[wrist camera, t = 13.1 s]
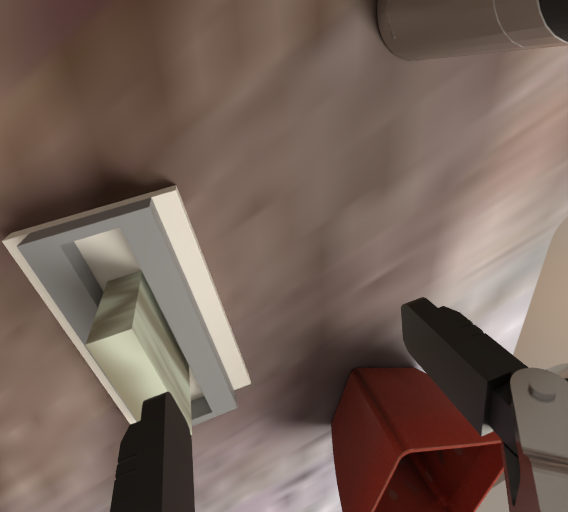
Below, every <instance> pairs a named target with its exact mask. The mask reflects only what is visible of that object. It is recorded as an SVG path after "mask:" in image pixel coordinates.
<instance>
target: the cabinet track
mask: <svg viewBox="0 0 568 512" xmlns="http://www.w3.org/2000/svg"><path fill="white" fill-rule="evenodd" d="M2 242H3V244H4V245H5V246H6V248H7V249H8V251H9V252H10V254H11V255H12V256H13V258H14V259H15V261H16V262H17V264H18V265H19V266H20V268H21V269H22V271H23V272H24V274H25V275H26V276H27V278H28V279H29V281H30V282H31V283H32V285H33V286H34V288H35V289H36V291H37V292H38V293H39V295H40V296H41V298H42V299H43V301H44V302H45V303H46V305H47V306H48V308H49V309H50V311H51V312H52V313H53V315H54V316H55V318H56V319H57V320H58V322H59V323H60V325H61V326H62V328H63V329H64V330H65V332H66V333H67V335H68V336H69V338H70V339H71V340H72V342H73V343H74V345H75V346H76V347H77V349H78V350H79V352H80V353H81V355H82V356H83V357H84V359H85V360H86V362H87V363H88V365H89V366H90V367H91V369H92V370H93V372H94V373H95V375H96V376H97V377H98V379H99V380H100V382H101V383H102V384H103V386H104V387H105V389H106V390H107V392H108V393H109V394H110V396H111V397H112V399H113V400H114V402H115V403H116V404H117V406H118V407H119V409H120V410H121V412H122V413H123V414H124V416H125V417H126V419H127V420H128V421H129V423H130V424H133V423H136V422H137V420H136V419H135V417H134V416H133V414H132V413H131V411H130V410H129V408H128V407H127V405H126V404H125V402H124V401H123V399H122V398H121V397H120V395H119V394H118V392H117V391H116V389H115V388H114V386H113V385H112V383H111V382H110V380H109V379H108V377H107V376H106V375H105V373H104V372H103V370H102V369H101V367H100V366H99V364H98V363H97V361H96V360H95V358H94V357H93V355H92V354H91V352H90V351H89V350H88V348H87V347H86V345H85V344H86V341H87V339H88V336H89V333H90V330H91V327H92V324H93V321H94V318H95V316H96V313H97V310H98V307H99V304H100V301H101V298H102V295H103V293H104V290H105V287H106V284H107V281H110V280H113V279H116V278H120V277H123V276H126V275H129V274H132V273H135V272H138V271H141V270H142V272H143V274H144V276H145V278H146V280H147V282H148V284H149V286H150V288H151V290H152V292H153V294H154V296H155V298H156V300H157V302H158V304H159V306H160V308H161V310H162V312H163V314H164V316H165V318H166V320H167V322H168V324H169V326H170V328H171V330H172V332H173V334H174V336H175V338H176V340H177V342H178V344H179V346H180V348H181V350H182V352H183V354H184V356H185V358H186V360H187V362H188V364H189V375H190V397H191V419H192V426H193V425H196V424H198V423H201V422H204V421H206V420H209V419H211V418H214V417H216V416H219V415H221V414H224V413H227V412H229V411H232V410H234V409H237V408H238V407H237V402H236V397H235V391H234V390H236V389H239V388H241V387H244V386H246V385H249V384H251V381H250V377H249V373H248V370H247V368H246V365H245V363H244V360H243V357H242V355H241V352H240V350H239V347H238V344H237V342H236V339H235V337H234V334H233V331H232V329H231V326H230V324H229V321H228V318H227V316H226V313H225V311H224V308H223V305H222V303H221V300H220V298H219V295H218V292H217V290H216V287H215V285H214V282H213V279H212V277H211V274H210V272H209V269H208V267H207V264H206V261H205V259H204V256H203V254H202V251H201V248H200V246H199V243H198V241H197V238H196V235H195V233H194V230H193V228H192V225H191V222H190V220H189V217H188V215H187V212H186V209H185V207H184V204H183V202H182V199H181V196H180V194H179V191H178V189H177V186H176V185H174V186H170V187H167V188H164V189H160V190H157V191H153V192H150V193H146V194H143V195H140V196H136V197H133V198H129V199H126V200H122V201H119V202H116V203H112V204H109V205H105V206H102V207H98V208H95V209H92V210H88V211H85V212H81V213H78V214H74V215H71V216H68V217H64V218H61V219H57V220H54V221H50V222H47V223H44V224H40V225H37V226H33V227H30V228H26V229H23V230H20V231H16V232H13V233H10V234H9V235H8V236H7V237H6V238H5V239H4V240H3V241H2Z"/></svg>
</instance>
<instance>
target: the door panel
mask: <svg viewBox="0 0 568 512" xmlns="http://www.w3.org/2000/svg"><path fill="white" fill-rule="evenodd" d="M85 345H86V347H87V348H88V350H89V351H90V352H91V354H92V355H93V357H94V358H95V360H96V361H97V363H98V364H99V366H100V367H101V369H102V370H103V372H104V373H105V375H106V376H107V377H108V379H109V380H110V382H111V383H112V385H113V386H114V388H115V389H116V391H117V392H118V394H119V395H120V397H121V398H122V399H123V401H124V402H125V404H126V405H127V407H128V408H129V410H130V411H131V413H132V414H133V416H134V417H135V419H136V420H137V422H138V421H140V420H141V411H142V404H143V401H144V400H146V399H149V398H152V397H154V396H157V395H160V394H162V393H165V392H170V393H171V394H172V396H173V398H174V400H175V401H176V403H177V405H178V407H179V408H180V410H181V412H182V414H183V415H184V417H185V419H186V421H187V423H188V426H189V429H190V433H191V435H192V419H191V397H190V375H189V364H188V362H187V360H186V358H185V356H184V354H183V352H182V350H181V348H180V346H179V344H178V342H177V340H176V338H175V336H174V334H173V332H172V330H171V328H170V326H169V324H168V322H167V320H166V318H165V316H164V314H163V312H162V310H161V308H160V306H159V304H158V302H157V300H156V298H155V296H154V294H153V292H152V290H151V288H150V286H149V284H148V282H147V280H146V278H145V276H144V274H143V272H142V270H141V271H138V272H135V273H132V274H129V275H126V276H123V277H120V278H116V279H113V280H110V281H107V284H106V287H105V290H104V293H103V295H102V298H101V301H100V304H99V307H98V310H97V313H96V316H95V318H94V321H93V324H92V327H91V330H90V333H89V336H88V339H87V341H86V344H85Z"/></svg>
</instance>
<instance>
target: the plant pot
mask: <svg viewBox="0 0 568 512" xmlns="http://www.w3.org/2000/svg"><path fill="white" fill-rule="evenodd" d="M331 428H332V443H333V455H334V464H335V471H336V478H337V485H338V491H339V496H340V501H341V506H342V511H343V512H475V511H476V510H477V508H478V507H479V505H480V504H481V502H482V501H483V499H484V498H485V496H486V495H487V493H488V492H489V491H490V489H491V488H492V486H493V485H494V483H495V482H496V480H497V479H498V478H499V476H500V475H501V473H502V472H503V470H504V466H503V458H502V451H501V438H500V437H499V436H498V435H497V434H496V433H495V432H494V431H492V432H490V433H488V434H486V435H484V436H481V435H480V434H479V433H478V432H477V431H476V430H475V429H474V427H473V426H472V425H471V424H470V423H469V422H468V420H467V419H466V418H465V417H464V416H463V415H462V414H461V412H460V411H459V410H458V409H457V408H456V407H455V405H454V404H453V403H452V402H451V401H450V400H449V399H448V397H447V396H446V395H445V394H444V393H443V392H442V390H441V389H440V388H439V387H438V386H437V385H436V384H435V382H434V381H433V380H432V379H431V378H430V377H429V375H428V374H426V373H424V372H422V371H420V370H418V369H416V368H356V369H354V370H353V371H352V372H351V374H350V377H349V379H348V382H347V384H346V387H345V389H344V392H343V395H342V397H341V400H340V402H339V405H338V407H337V410H336V413H335V415H334V418H333V420H332V424H331Z"/></svg>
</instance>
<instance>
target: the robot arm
mask: <svg viewBox="0 0 568 512" xmlns="http://www.w3.org/2000/svg"><path fill="white" fill-rule="evenodd" d="M377 19H378V26H379V30H380V33H381V36H382V39H383V41H384V42H385V44H386V46H387V47H388V48H389V49H390V51H391V52H392V53H393V54H395V55H396V56H398V57H400V58H402V59H405V60H425V59H435V58H448V57H458V56H468V55H478V54H488V53H498V52H508V51H518V50H528V49H536V48H545V47H556V46H566V45H568V0H378V4H377ZM401 316H402V332H403V340H404V344H405V346H406V348H407V350H408V352H409V353H410V355H411V356H412V357H413V358H414V359H415V360H416V362H417V363H418V364H419V365H420V366H421V367H422V368H423V370H424V371H425V372H426V373H427V374H428V375H429V377H430V378H431V379H432V380H433V381H434V382H435V384H436V385H437V386H438V387H439V388H440V389H441V390H442V392H443V393H444V394H445V395H446V396H447V397H448V399H449V400H450V401H451V402H452V403H453V404H454V405H455V407H456V408H457V409H458V410H459V411H460V412H461V414H462V415H463V416H464V417H465V418H466V419H467V420H468V422H469V423H470V424H471V425H472V426H473V427H474V429H475V430H476V431H477V432H478V433H479V434H480V435H481V436H484V435H486V434H488V433H490V432H492V431H494V432H495V433H496V434H497V435H498V436H499V437H500V438H501V451H502V458H503V466H504V473H505V481H506V488H507V496H508V503H509V511H510V512H568V378H566V379H564V378H562V377H560V376H559V375H557V374H555V373H553V372H550V371H548V370H544V369H539V368H528V367H527V366H526V365H524V364H523V363H522V362H521V361H519V360H518V359H517V358H516V357H514V356H513V355H512V354H511V353H509V352H508V351H507V350H506V349H504V348H503V347H502V346H501V345H499V344H498V343H497V342H496V341H495V340H493V339H492V338H491V337H490V336H488V335H487V334H486V333H485V334H484V333H483V331H482V330H481V329H480V328H478V327H477V326H476V325H473V323H472V322H471V321H470V320H468V319H467V318H466V317H465V316H463V315H462V314H461V313H460V312H457V311H455V310H452V309H450V308H447V307H445V306H442V307H440V308H437V307H436V306H435V305H434V304H432V303H431V302H430V301H429V300H428V299H426V298H424V297H422V298H419V299H416V300H414V301H411V302H408V303H406V304H403V305H402V306H401ZM115 477H116V480H115V482H114V489H113V495H112V502H111V508H110V512H195V506H194V483H193V460H192V439H191V433H190V429H189V426H188V423H187V421H186V419H185V417H184V415H183V414H182V412H181V410H180V408H179V407H178V405H177V403H176V401H175V400H174V398H173V396H172V394H171V393H170V392H165V393H162V394H160V395H157V396H154V397H152V398H149V399H146V400H144V401H143V404H142V411H141V420H140V421H138V422H136V423H133V424H130V426H129V428H128V430H127V431H126V433H125V435H124V437H123V439H122V441H121V444H120V450H119V457H118V465H117V469H116V476H115Z"/></svg>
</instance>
